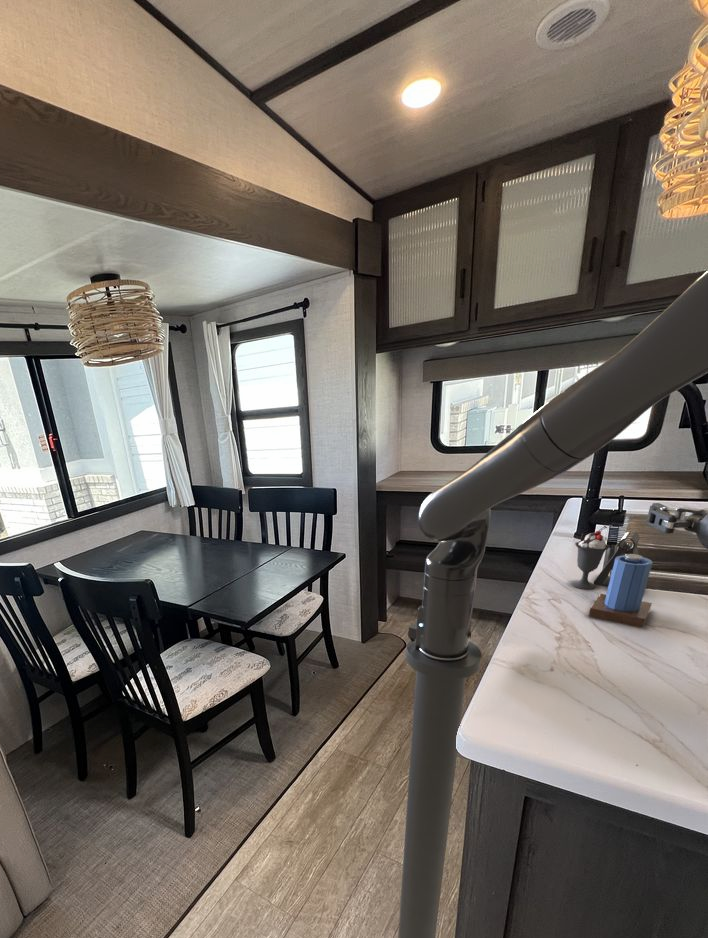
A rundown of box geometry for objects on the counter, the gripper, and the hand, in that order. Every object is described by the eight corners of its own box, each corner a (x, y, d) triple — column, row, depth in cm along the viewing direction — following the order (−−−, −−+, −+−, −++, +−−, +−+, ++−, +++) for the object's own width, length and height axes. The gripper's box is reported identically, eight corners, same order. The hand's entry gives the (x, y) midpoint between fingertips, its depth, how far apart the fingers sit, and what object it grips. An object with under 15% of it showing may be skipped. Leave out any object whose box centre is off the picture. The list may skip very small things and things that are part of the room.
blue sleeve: (601, 607, 97) (612, 561, 93) (607, 597, 100) (618, 553, 96) (636, 614, 93) (649, 566, 89) (641, 604, 96) (654, 558, 92)
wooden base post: (588, 616, 97) (601, 558, 92) (597, 601, 103) (611, 546, 98) (642, 628, 92) (659, 566, 86) (649, 611, 97) (666, 553, 92)
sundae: (600, 592, 107) (615, 529, 101) (566, 588, 111) (578, 526, 105) (600, 582, 112) (614, 521, 106) (567, 578, 116) (579, 519, 110)
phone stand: (644, 583, 110) (657, 534, 105) (639, 592, 106) (653, 541, 101) (598, 576, 116) (609, 529, 111) (592, 584, 112) (603, 535, 107)
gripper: (828, 507, 60) (743, 484, 74) (696, 510, 64) (638, 487, 78) (805, 562, 63) (727, 529, 77) (680, 561, 67) (627, 530, 81)
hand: (683, 508), depth 78 cm, fingers open, 8 cm apart
